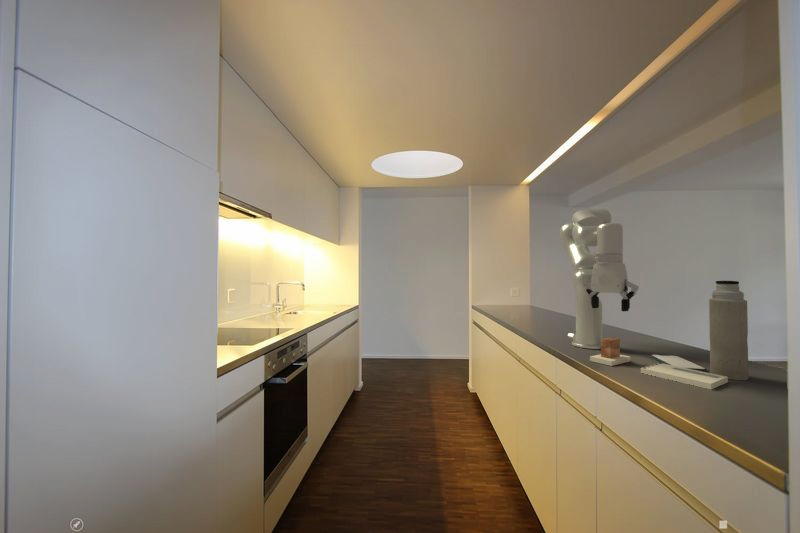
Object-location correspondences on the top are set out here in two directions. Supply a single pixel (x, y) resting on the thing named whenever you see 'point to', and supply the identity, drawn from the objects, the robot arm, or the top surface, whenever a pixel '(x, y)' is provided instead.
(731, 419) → the top surface
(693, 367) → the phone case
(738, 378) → the thermos bottle
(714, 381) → the flat white tray
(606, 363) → the stub
